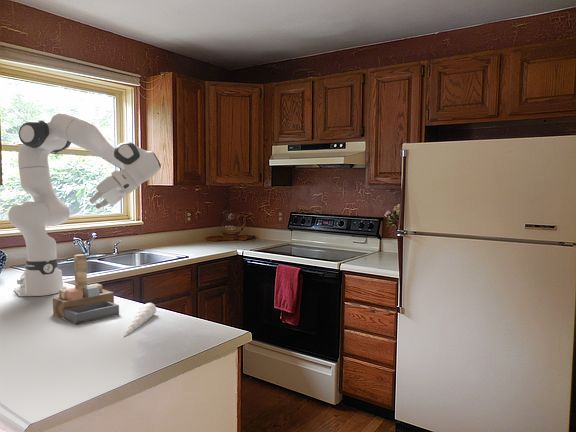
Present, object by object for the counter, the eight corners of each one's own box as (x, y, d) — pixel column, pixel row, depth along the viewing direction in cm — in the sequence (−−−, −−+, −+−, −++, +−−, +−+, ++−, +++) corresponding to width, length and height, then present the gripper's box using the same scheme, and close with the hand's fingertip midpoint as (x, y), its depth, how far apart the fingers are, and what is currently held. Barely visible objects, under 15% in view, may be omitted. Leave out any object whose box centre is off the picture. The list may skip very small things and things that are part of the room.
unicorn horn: (111, 337, 134) (111, 322, 134) (144, 315, 158) (144, 302, 158) (126, 338, 134) (126, 323, 134) (157, 315, 158) (156, 302, 157)
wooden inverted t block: (59, 297, 158) (57, 256, 157) (97, 289, 169) (96, 252, 168) (64, 298, 156) (62, 257, 155) (102, 291, 166) (101, 253, 165)
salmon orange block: (66, 298, 156) (65, 290, 156) (77, 296, 159) (77, 288, 159) (71, 300, 153) (71, 292, 153) (82, 298, 156) (82, 290, 156)
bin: (64, 319, 152) (64, 309, 151) (106, 310, 163) (106, 300, 163) (76, 324, 146) (76, 314, 146) (119, 314, 157) (118, 304, 157)
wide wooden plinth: (53, 314, 157) (52, 297, 157) (102, 304, 171) (101, 288, 171) (64, 319, 152) (63, 302, 151) (114, 308, 165) (113, 292, 165)
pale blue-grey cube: (83, 295, 160) (82, 287, 160) (94, 293, 163) (93, 285, 163) (88, 297, 158) (88, 289, 158) (99, 295, 161) (99, 287, 161)
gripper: (123, 184, 181) (94, 204, 178) (113, 169, 162) (81, 192, 158) (133, 195, 181) (104, 216, 177) (125, 182, 161) (92, 205, 158)
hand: (93, 205), depth 167 cm, fingers open, 8 cm apart
